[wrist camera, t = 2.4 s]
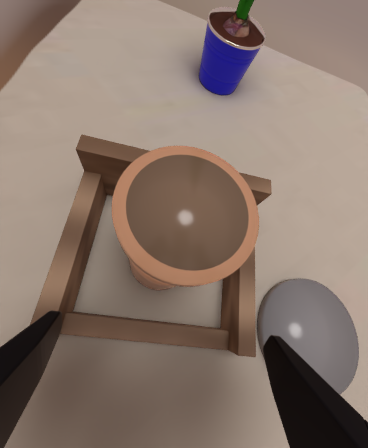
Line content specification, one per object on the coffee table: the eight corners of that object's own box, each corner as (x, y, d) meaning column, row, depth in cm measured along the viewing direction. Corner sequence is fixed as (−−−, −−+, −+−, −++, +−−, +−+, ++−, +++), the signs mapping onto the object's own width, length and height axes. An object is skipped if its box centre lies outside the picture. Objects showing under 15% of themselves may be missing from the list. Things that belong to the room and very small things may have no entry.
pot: (155, 310, 20) (183, 324, 8) (110, 252, 21) (77, 189, 9) (207, 263, 23) (285, 221, 11) (165, 214, 24) (195, 125, 12)
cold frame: (234, 347, 20) (279, 368, 14) (48, 328, 18) (-1, 344, 11) (237, 210, 26) (270, 180, 20) (96, 180, 23) (81, 134, 17)
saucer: (315, 424, 20) (326, 431, 19) (236, 328, 21) (242, 330, 20) (363, 335, 24) (374, 337, 23) (294, 260, 25) (302, 258, 24)
